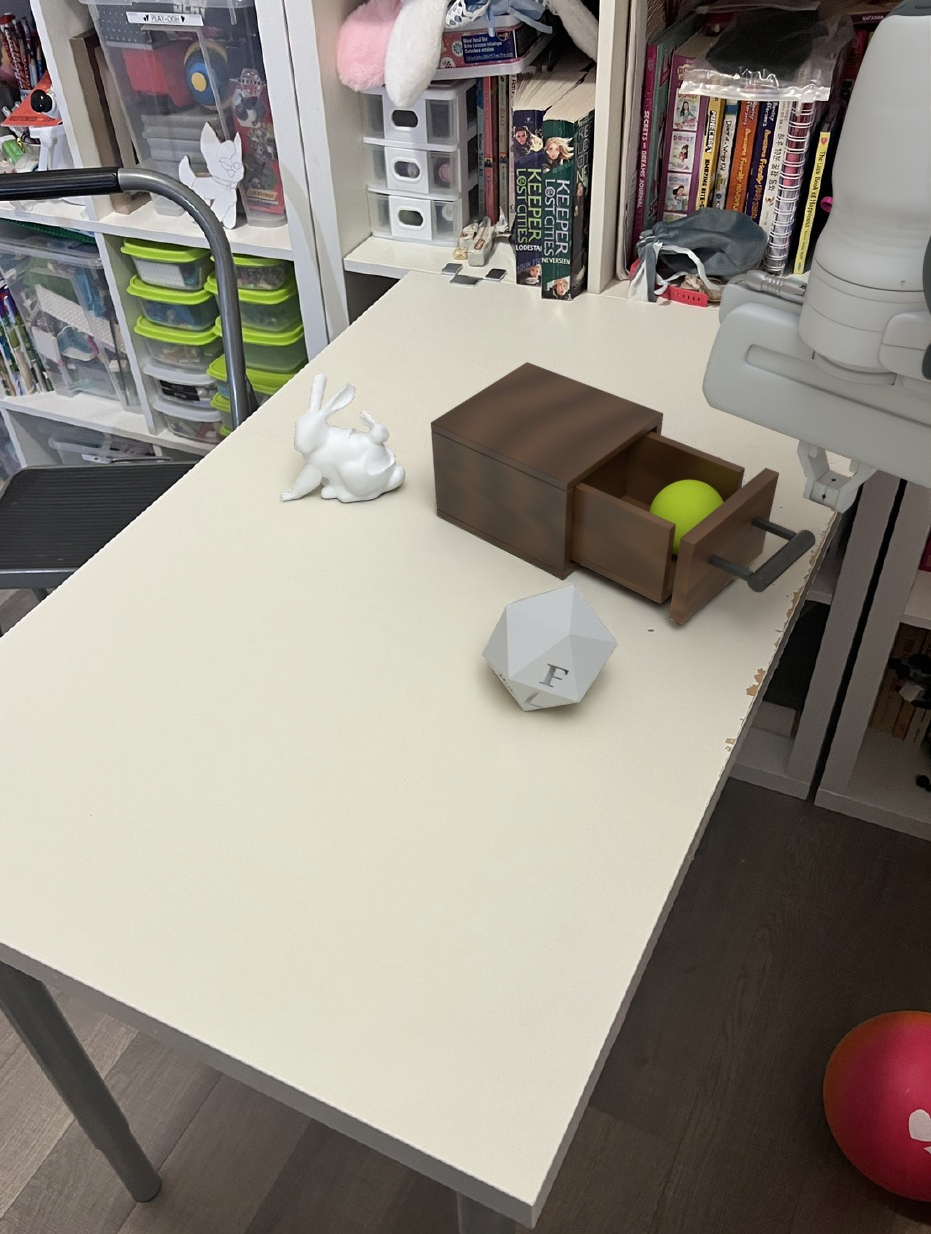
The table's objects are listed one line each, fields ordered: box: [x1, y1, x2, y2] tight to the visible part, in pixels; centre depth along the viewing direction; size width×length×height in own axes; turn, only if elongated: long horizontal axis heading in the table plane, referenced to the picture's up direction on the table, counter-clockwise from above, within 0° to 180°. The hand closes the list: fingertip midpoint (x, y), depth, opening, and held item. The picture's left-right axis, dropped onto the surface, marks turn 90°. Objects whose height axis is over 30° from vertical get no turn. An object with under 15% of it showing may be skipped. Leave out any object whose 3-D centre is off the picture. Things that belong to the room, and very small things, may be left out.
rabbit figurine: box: [279, 373, 406, 503], centre depth 95 cm, size 12×8×10 cm, turn 78°
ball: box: [649, 480, 724, 555], centre depth 82 cm, size 6×6×6 cm
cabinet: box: [430, 361, 664, 581], centre depth 89 cm, size 15×13×10 cm
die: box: [481, 584, 619, 712], centre depth 75 cm, size 8×9×10 cm
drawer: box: [570, 431, 817, 625], centre depth 82 cm, size 18×11×8 cm, turn 45°
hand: (827, 501), depth 71 cm, fingers closed
